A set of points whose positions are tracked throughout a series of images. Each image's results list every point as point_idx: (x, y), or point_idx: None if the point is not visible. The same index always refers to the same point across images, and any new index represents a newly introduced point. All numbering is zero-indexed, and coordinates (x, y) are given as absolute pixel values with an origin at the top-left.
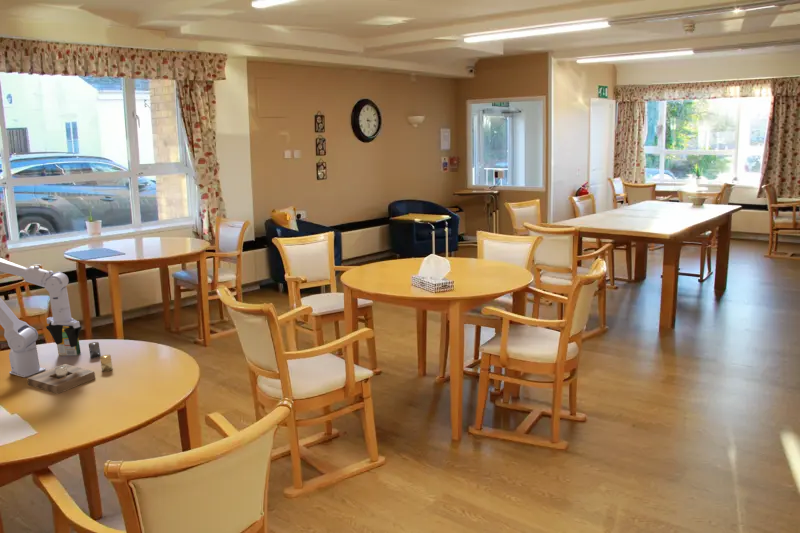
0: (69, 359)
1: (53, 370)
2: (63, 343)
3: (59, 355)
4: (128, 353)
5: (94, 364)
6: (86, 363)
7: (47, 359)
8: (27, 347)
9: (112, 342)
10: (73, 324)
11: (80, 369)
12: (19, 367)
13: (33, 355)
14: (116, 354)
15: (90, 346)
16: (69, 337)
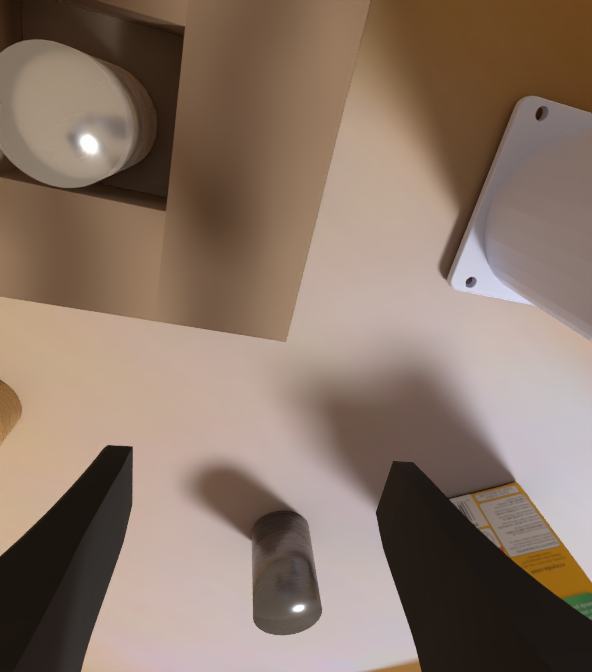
0: (408, 460)
1: (266, 187)
2: (518, 562)
3: (511, 483)
4: (117, 602)
5: (171, 447)
6: (242, 445)
7: (553, 425)
8: None
9: (338, 656)
10: None
11: (22, 275)
12: None
13: (585, 255)
14: (175, 577)
15: (286, 582)
16: (9, 566)
